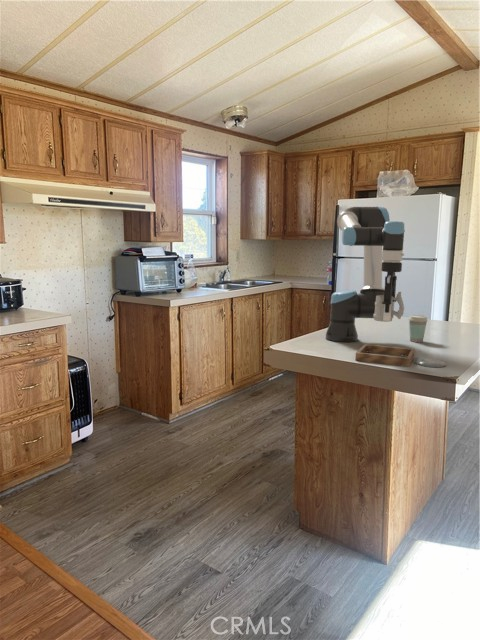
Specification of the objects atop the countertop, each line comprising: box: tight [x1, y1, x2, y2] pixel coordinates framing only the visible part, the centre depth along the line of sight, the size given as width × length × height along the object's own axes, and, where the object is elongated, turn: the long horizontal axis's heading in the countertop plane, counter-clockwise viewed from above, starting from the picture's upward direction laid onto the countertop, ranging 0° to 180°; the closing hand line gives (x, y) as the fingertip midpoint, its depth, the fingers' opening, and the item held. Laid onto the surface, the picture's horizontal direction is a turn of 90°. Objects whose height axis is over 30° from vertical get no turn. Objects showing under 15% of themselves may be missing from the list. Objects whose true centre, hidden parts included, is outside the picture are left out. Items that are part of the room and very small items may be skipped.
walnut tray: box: [355, 343, 416, 367], centre depth 194 cm, size 20×18×3 cm
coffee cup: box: [408, 314, 428, 343], centre depth 228 cm, size 9×8×12 cm
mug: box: [373, 291, 405, 323], centre depth 190 cm, size 8×12×12 cm, turn 57°
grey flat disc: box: [414, 358, 446, 368], centre depth 186 cm, size 11×11×1 cm
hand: (388, 319), depth 192 cm, fingers closed on mug, 7 cm apart
